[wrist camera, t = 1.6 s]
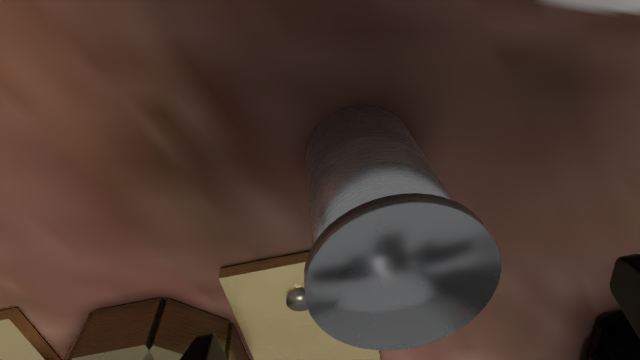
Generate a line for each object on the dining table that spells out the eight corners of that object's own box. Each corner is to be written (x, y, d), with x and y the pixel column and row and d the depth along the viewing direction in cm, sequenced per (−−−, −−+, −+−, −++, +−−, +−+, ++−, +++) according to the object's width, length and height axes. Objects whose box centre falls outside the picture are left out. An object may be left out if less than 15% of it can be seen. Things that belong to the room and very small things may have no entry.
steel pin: (417, 84, 14) (507, 187, 8) (423, 195, 16) (496, 332, 11) (284, 111, 14) (284, 230, 8) (310, 217, 16) (323, 364, 11)
